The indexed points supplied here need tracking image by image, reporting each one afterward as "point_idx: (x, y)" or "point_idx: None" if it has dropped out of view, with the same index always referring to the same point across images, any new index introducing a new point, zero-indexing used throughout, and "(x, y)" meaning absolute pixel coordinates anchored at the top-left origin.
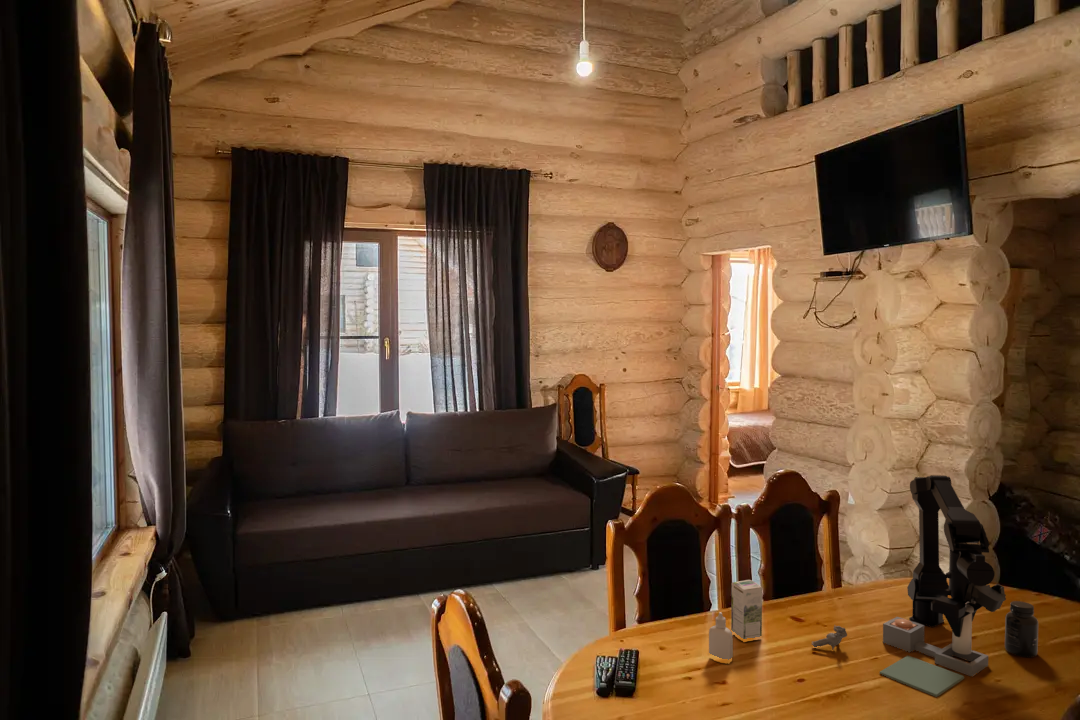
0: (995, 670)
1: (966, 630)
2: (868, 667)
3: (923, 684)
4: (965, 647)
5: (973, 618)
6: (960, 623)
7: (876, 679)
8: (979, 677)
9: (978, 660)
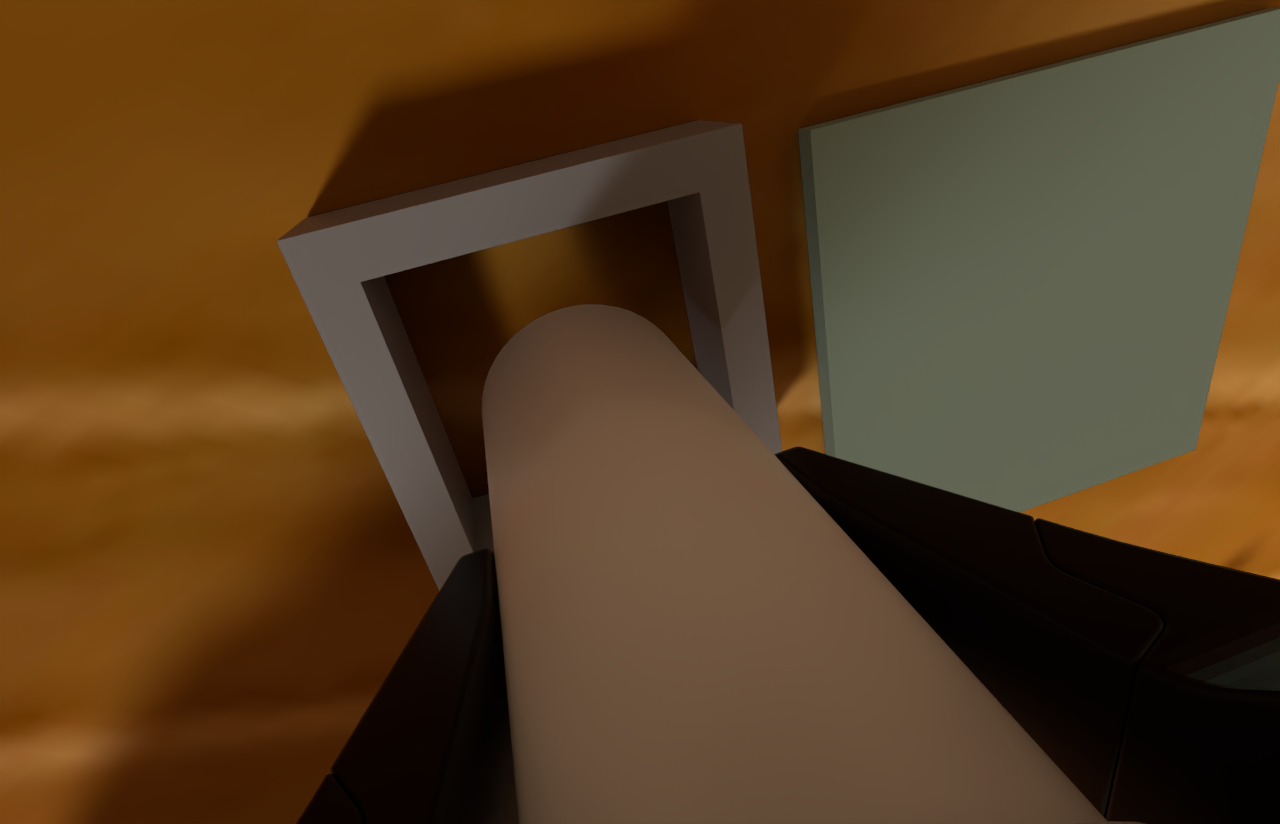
0: (312, 98)
1: (766, 467)
2: (1135, 526)
3: (1194, 186)
4: (666, 346)
5: (328, 776)
6: (1131, 547)
7: (1249, 396)
8: (639, 71)
9: (533, 197)
